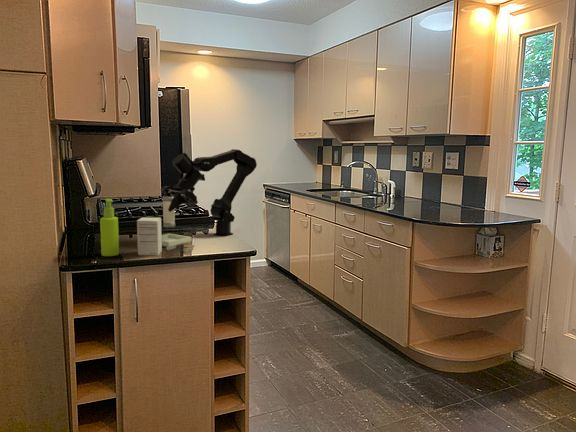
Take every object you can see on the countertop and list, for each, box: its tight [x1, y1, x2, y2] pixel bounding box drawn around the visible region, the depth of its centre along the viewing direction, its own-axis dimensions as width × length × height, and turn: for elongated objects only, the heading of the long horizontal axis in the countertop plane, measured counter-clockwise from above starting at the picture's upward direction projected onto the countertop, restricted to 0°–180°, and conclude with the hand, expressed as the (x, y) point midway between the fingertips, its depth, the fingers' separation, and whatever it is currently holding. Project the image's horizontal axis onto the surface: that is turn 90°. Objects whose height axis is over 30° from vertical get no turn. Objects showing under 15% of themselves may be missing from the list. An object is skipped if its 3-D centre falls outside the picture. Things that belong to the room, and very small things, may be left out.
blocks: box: [166, 244, 196, 253], centre depth 172 cm, size 10×8×1 cm
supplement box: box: [136, 217, 163, 256], centre depth 163 cm, size 7×7×13 cm
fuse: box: [162, 195, 176, 228], centre depth 180 cm, size 5×5×12 cm
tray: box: [161, 233, 193, 248], centre depth 182 cm, size 13×13×2 cm
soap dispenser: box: [99, 198, 120, 257], centre depth 158 cm, size 6×7×20 cm
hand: (165, 210), depth 179 cm, fingers closed on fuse, 4 cm apart
